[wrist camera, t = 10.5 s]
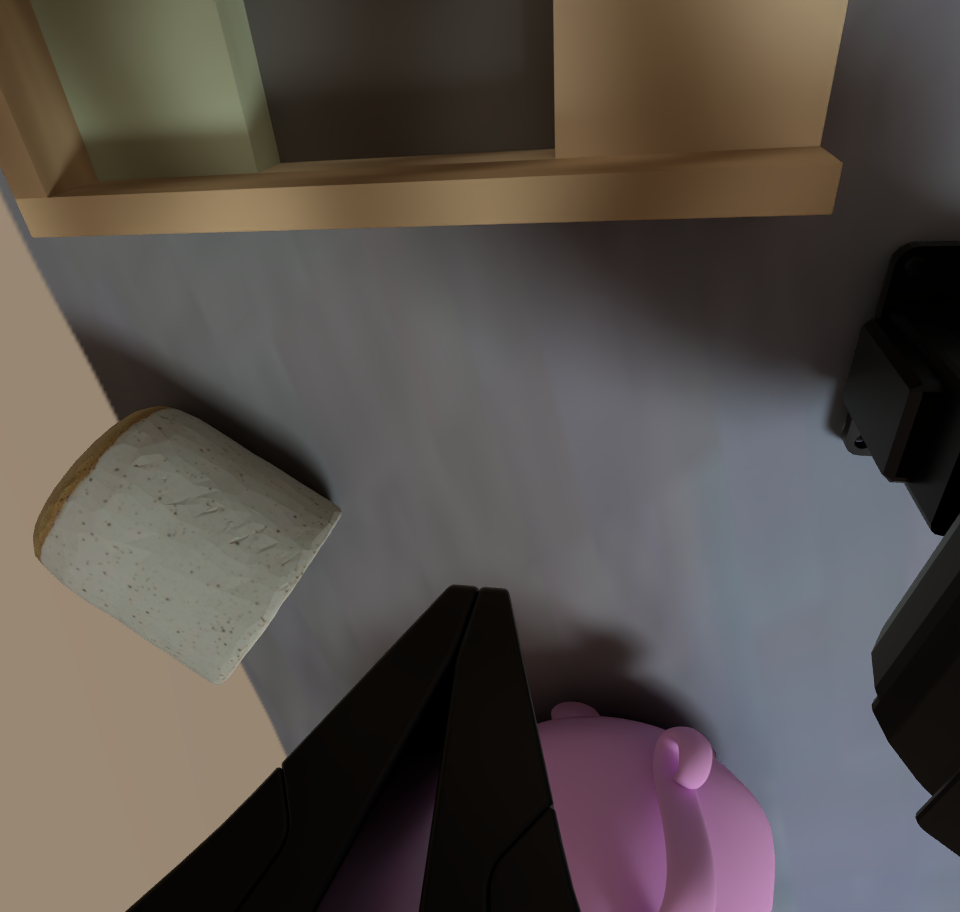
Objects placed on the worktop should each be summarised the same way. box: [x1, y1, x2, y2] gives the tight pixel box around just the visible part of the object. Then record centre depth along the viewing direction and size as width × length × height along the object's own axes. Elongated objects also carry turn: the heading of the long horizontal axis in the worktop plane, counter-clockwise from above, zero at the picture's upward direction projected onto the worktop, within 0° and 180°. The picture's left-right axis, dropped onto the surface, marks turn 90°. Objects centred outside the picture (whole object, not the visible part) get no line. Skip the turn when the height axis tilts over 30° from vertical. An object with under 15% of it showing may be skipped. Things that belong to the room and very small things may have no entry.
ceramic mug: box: [33, 406, 342, 685], centre depth 25 cm, size 11×8×8 cm
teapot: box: [537, 702, 775, 912], centre depth 29 cm, size 20×14×12 cm
